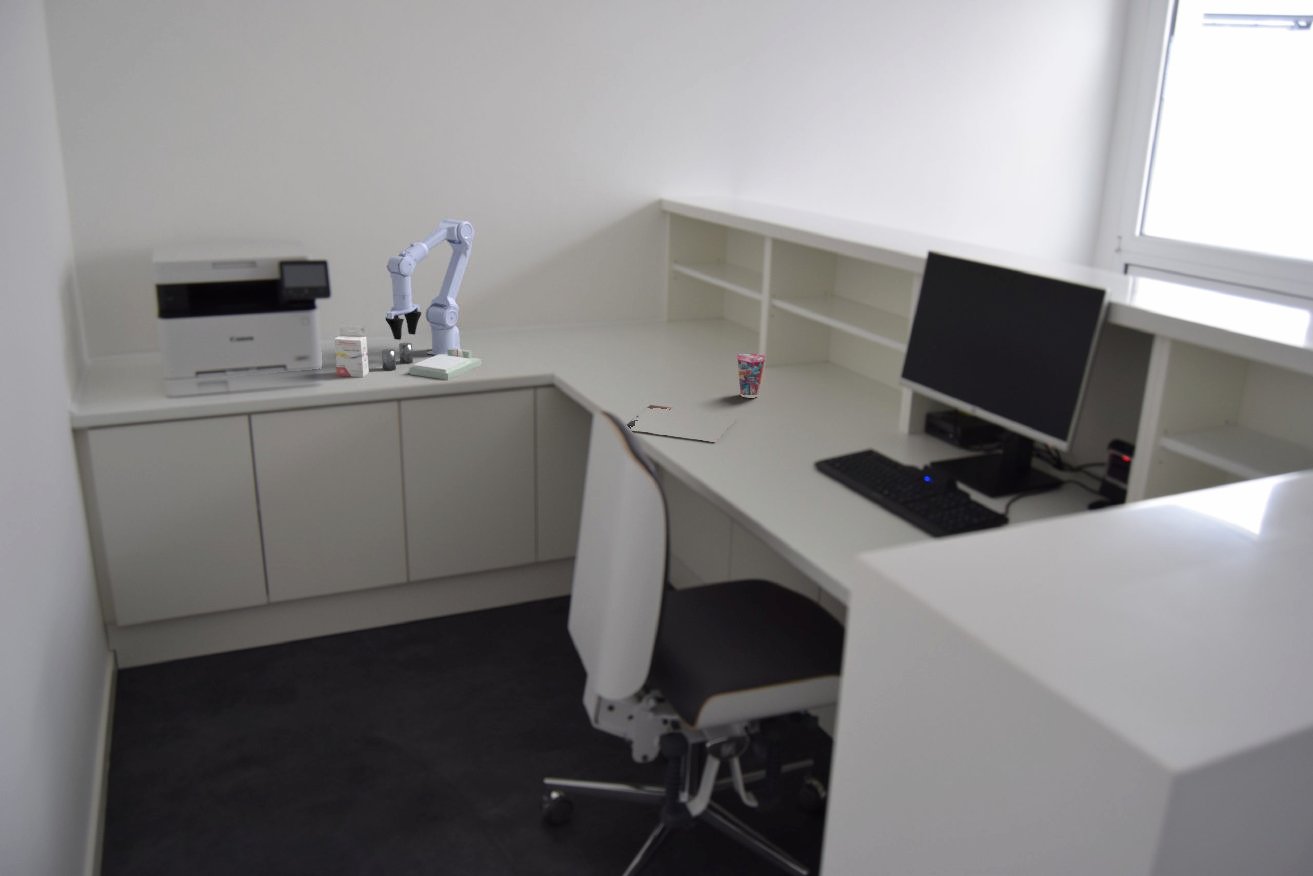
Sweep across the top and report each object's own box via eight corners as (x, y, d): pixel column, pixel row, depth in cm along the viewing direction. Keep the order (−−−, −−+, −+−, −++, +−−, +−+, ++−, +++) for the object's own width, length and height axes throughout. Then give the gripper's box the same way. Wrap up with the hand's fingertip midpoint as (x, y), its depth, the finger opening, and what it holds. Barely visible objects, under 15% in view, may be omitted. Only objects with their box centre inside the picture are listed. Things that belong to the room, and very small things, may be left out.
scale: (444, 359, 324) (443, 344, 323) (481, 364, 319) (480, 349, 318) (409, 374, 308) (408, 358, 306) (448, 379, 303) (447, 364, 301)
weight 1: (388, 366, 315) (386, 348, 313) (398, 368, 314) (397, 349, 312) (380, 369, 312) (378, 351, 310) (390, 371, 310) (389, 352, 308)
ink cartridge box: (336, 376, 304) (332, 328, 299) (342, 371, 309) (338, 325, 304) (363, 377, 303) (359, 330, 298) (369, 373, 308) (366, 326, 303)
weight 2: (405, 360, 323) (403, 342, 321) (415, 361, 322) (414, 343, 320) (397, 362, 320) (396, 344, 318) (408, 364, 318) (406, 346, 316)
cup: (729, 393, 296) (731, 354, 292) (755, 390, 299) (757, 352, 295) (744, 402, 288) (746, 362, 284) (770, 399, 291) (772, 359, 287)
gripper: (405, 289, 321) (408, 330, 325) (377, 297, 308) (380, 340, 313) (423, 291, 318) (426, 332, 323) (396, 299, 306) (399, 342, 310)
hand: (404, 336), depth 318 cm, fingers open, 7 cm apart
